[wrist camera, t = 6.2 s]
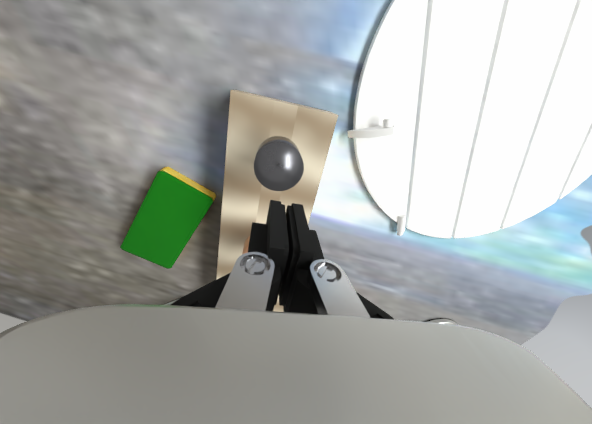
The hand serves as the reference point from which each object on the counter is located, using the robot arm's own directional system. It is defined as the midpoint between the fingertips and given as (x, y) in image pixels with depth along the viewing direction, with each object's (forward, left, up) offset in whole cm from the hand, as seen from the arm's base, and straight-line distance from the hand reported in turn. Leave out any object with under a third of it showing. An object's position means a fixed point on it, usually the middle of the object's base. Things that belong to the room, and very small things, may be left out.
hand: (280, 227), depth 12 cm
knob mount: (-11, 0, -19) cm, 22 cm away
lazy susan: (+10, -27, -20) cm, 35 cm away
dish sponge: (-13, +13, -20) cm, 27 cm away
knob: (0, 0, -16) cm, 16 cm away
